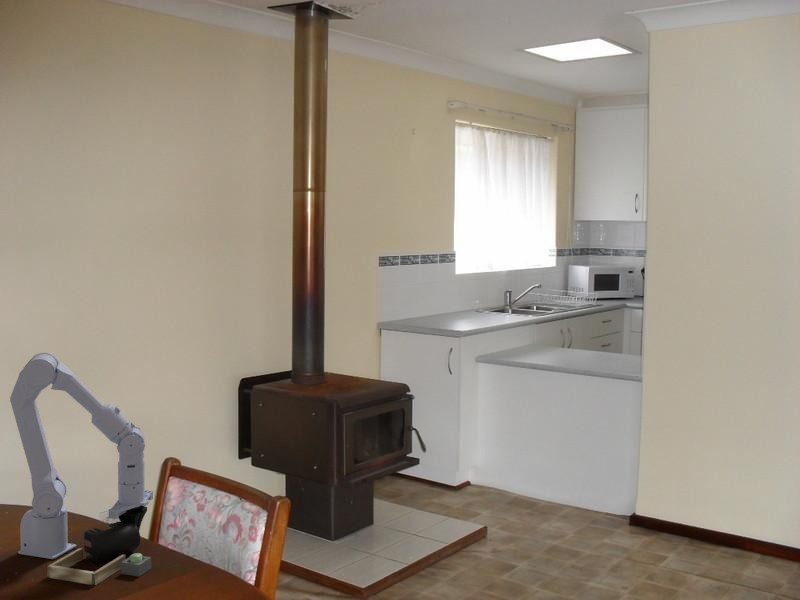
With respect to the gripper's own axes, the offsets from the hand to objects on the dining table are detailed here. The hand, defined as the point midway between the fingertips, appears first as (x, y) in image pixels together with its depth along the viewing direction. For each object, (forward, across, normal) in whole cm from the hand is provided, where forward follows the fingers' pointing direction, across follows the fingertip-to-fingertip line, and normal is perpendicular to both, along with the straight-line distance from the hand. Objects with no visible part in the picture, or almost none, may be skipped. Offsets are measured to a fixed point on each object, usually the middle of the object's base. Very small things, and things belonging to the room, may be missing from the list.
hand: (131, 539), depth 196 cm
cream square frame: (+1, -16, 0) cm, 16 cm away
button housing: (+1, -13, -10) cm, 16 cm away
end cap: (+2, -8, 0) cm, 8 cm away
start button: (+1, -13, -9) cm, 16 cm away
